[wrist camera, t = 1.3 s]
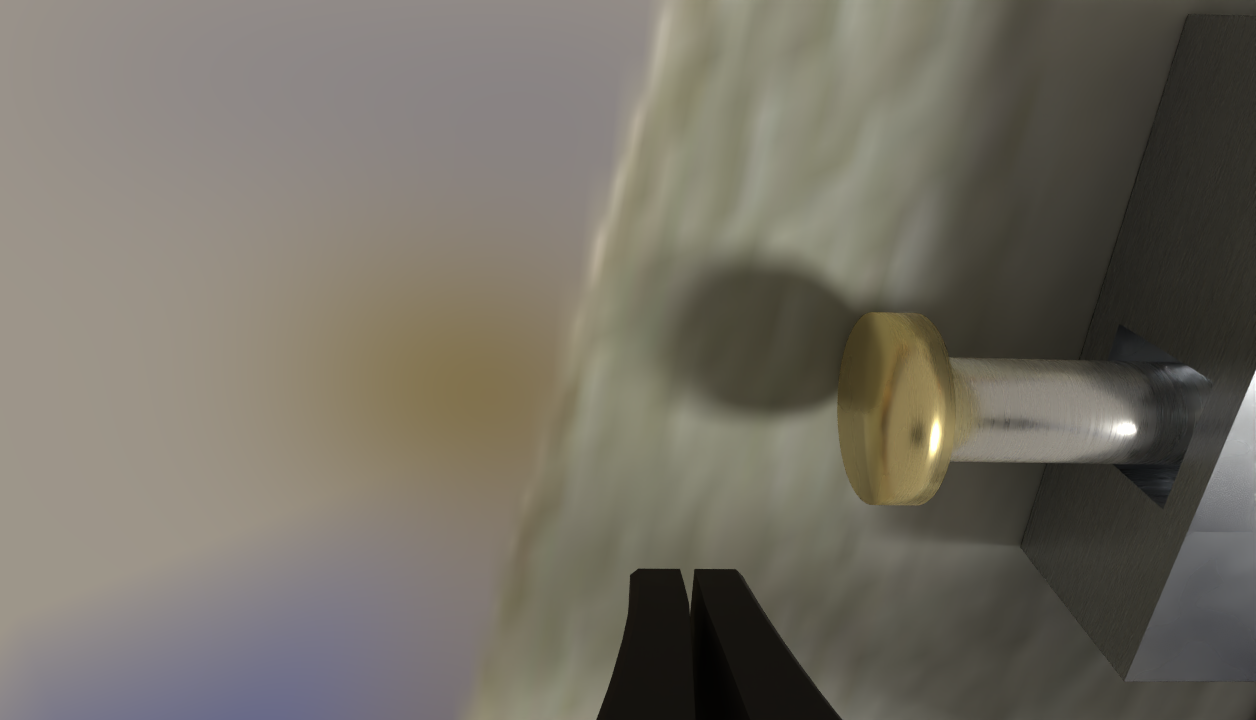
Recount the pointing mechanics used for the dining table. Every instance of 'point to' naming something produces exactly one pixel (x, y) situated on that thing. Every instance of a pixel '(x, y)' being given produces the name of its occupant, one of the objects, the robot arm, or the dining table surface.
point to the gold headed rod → (996, 410)
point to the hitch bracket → (1206, 342)
